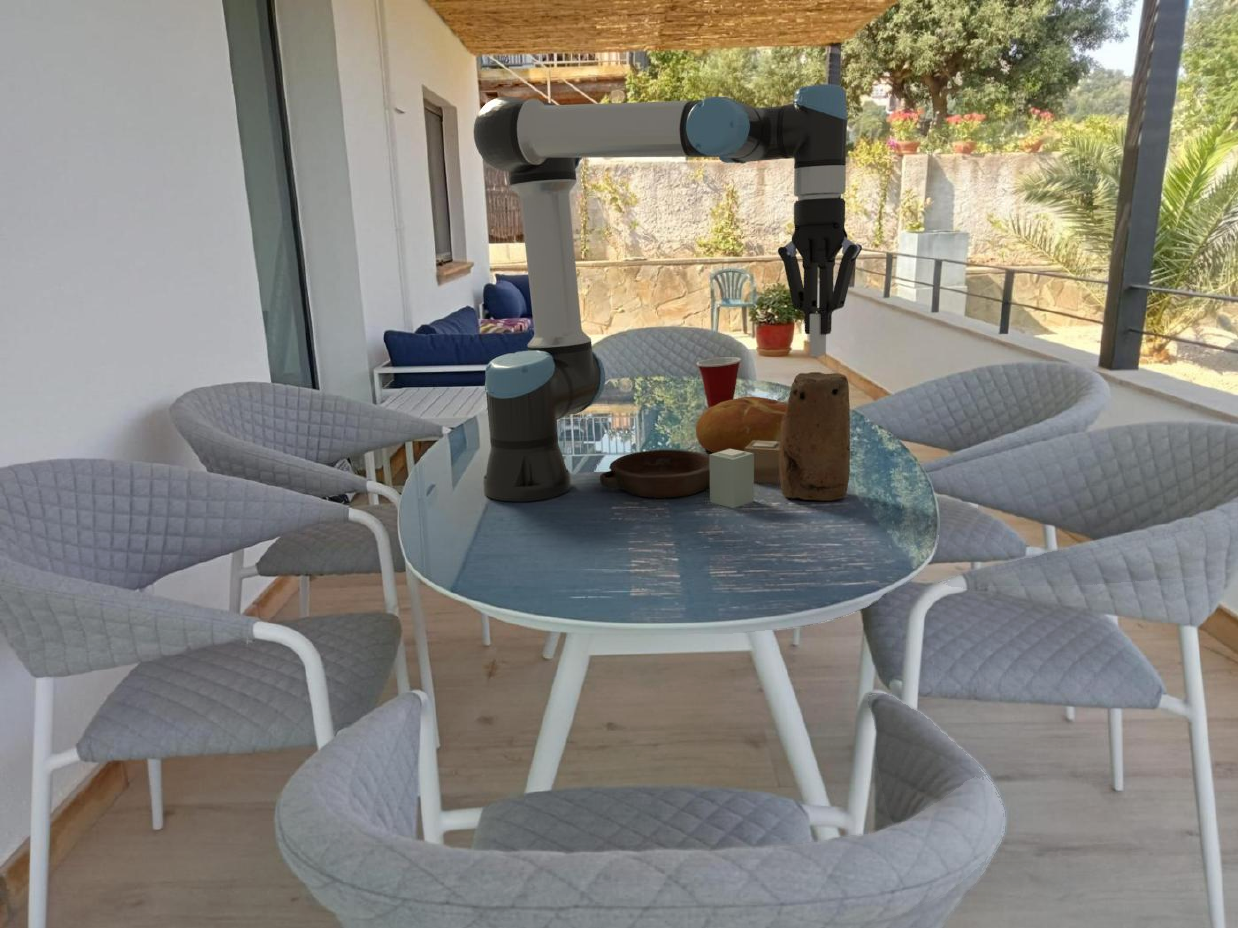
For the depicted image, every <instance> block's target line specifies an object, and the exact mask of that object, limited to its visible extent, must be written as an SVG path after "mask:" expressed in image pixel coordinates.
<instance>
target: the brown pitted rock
mask: <svg viewBox="0 0 1238 928" xmlns="http://www.w3.org/2000/svg"><path fill="white" fill-rule="evenodd" d="M849 385H850V384H849V380H848V377H847V376H846V375H845V374H842V373H836V372H833V373H822V372H820V371H817V372H815V371H812V372H805V373H804V372H800V373H798V374H797V375H796V376H795V377H794V379H793V382H792V383H791V386H790V387H791V388H790V390H789V396H788V400H787V403H788V404H787V409H786V412H785V413H784V416H783V418H782V421H781V430H780V482H779V483H780V490H781V493H782V496H784V497H786V498H788V499H798V498H799V499H801V500H805V501H806V500H807V501H828V502H829V501H836V500H842V499H843V498H845V496H846V494H847V491H848V487H849V483H850V482H849V481H850V474H851V473H850V471H851V469H850V466H851V464H850V463H851V462H850V461H851V460H850V459H851V448H850V446H851V441H850V438H851V425H850V424H851V417H850V414H851V413H850V412H851V411H850V408H851V405H850V387H849Z"/></svg>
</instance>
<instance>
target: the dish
mask: <svg viewBox="0 0 1238 928" xmlns="http://www.w3.org/2000/svg"><path fill="white" fill-rule="evenodd" d="M599 480H600V483H601V485H602V486H603V487H607V488H617V489H621V490H624V492H625V491H626V492H627V493H629V494H631V495H634V496H635V495H636V496H639V497H645V498H652V497H656V498H657V499H664V498H665V497H670V498H678V497H680V498H681V497H685V496H690V495H693V494H697V493H700V492H702V491H704V490H705V489H707V488H708V487H710V461H709V455H708V454H706V453H701V452H697V451H690V450H683V449H651V450H645V451H642V450H641V451H637V452H631V453H629V454H625V455H622V456H620V457H618V458H617V459H615V460H613V461H611V463H610V465H609V471H605V472H603V473H601V474H600V475H599ZM665 499H666V498H665Z"/></svg>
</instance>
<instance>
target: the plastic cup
mask: <svg viewBox="0 0 1238 928" xmlns="http://www.w3.org/2000/svg"><path fill="white" fill-rule="evenodd" d="M741 361H742V358H741V357H736V356H725V357H723V356H722V357H714V358H709V359H704V360H700V361H698V362H696V366H697V367H698V369H699V371H700V375H701V378H702V384H703V389H704V395H705V397H706V405H707V407H708V408H709V407H712V406H715V405H717V404H719V403H721V402H724V401H728V400H732V399H735V397H734V396H735V392H736V387H737V386H736V385H737V379H738V372H739V368H740V362H741ZM708 408H707V409H708Z"/></svg>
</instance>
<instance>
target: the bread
mask: <svg viewBox="0 0 1238 928" xmlns="http://www.w3.org/2000/svg"><path fill="white" fill-rule="evenodd" d="M787 404H788V402H784V401H779V400H776V399H773V398H772V399H771V398H767V397H761V396H742V397H737V398H733V399H732V400H728V401H724V402H721V403H719V404H717V405H715V406H712V407H709V408H706V409H705V410H704V411H703V412H702V414H701V415H700V416H699V418H698V420H697V422H696V425H695V437H696V439H697V442H698V443H699V445H700V446H701V447H702V448H703V449H705V450H706V451H708V452H710V453H711V454H713V453H716V452H720V451H723V450H727V449H735V450H740V451H744V448H745V447H746V446H747V445H748V444H749V443H750V442H752V441H753V440H756V441H775V442H780V430H781V421H782V418H783V416H784V413H785V412H786V409H787Z"/></svg>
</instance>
